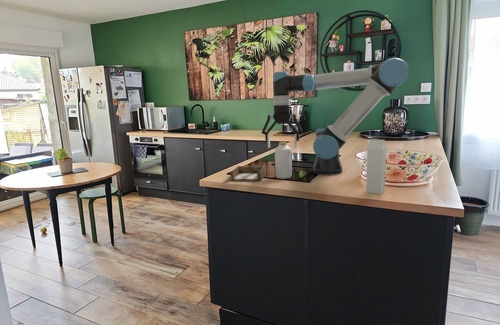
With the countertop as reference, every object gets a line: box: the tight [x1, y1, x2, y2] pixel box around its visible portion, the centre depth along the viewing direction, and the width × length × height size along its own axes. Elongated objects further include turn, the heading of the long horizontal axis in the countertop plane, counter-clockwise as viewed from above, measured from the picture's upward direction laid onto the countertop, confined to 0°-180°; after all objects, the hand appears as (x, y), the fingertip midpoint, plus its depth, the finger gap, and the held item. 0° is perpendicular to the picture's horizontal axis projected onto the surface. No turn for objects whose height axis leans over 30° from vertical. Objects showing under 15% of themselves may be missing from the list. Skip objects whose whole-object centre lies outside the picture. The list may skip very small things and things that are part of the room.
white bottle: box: [274, 141, 293, 180], centre depth 159 cm, size 8×8×18 cm
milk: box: [365, 138, 388, 195], centre depth 130 cm, size 6×6×22 cm
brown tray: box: [230, 165, 266, 183], centre depth 163 cm, size 15×14×4 cm
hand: (282, 147), depth 158 cm, fingers open, 13 cm apart
